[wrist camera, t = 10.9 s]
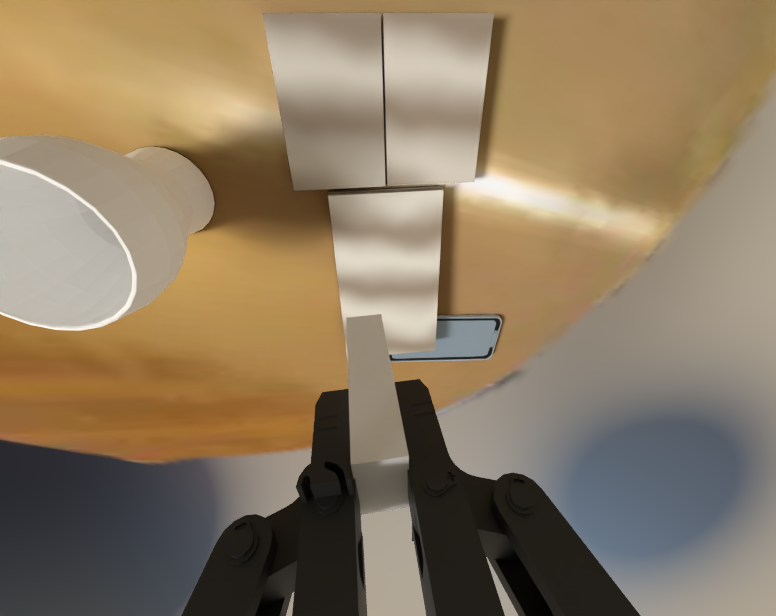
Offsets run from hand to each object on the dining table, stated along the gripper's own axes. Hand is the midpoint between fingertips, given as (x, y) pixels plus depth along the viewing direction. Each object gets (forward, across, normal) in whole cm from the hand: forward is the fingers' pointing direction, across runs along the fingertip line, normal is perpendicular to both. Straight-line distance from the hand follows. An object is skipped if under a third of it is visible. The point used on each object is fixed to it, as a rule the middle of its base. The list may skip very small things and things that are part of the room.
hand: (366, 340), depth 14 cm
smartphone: (+21, +10, -18) cm, 29 cm away
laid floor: (+21, +4, +8) cm, 23 cm away
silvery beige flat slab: (+20, +3, -8) cm, 22 cm away
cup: (+21, -16, +3) cm, 27 cm away
